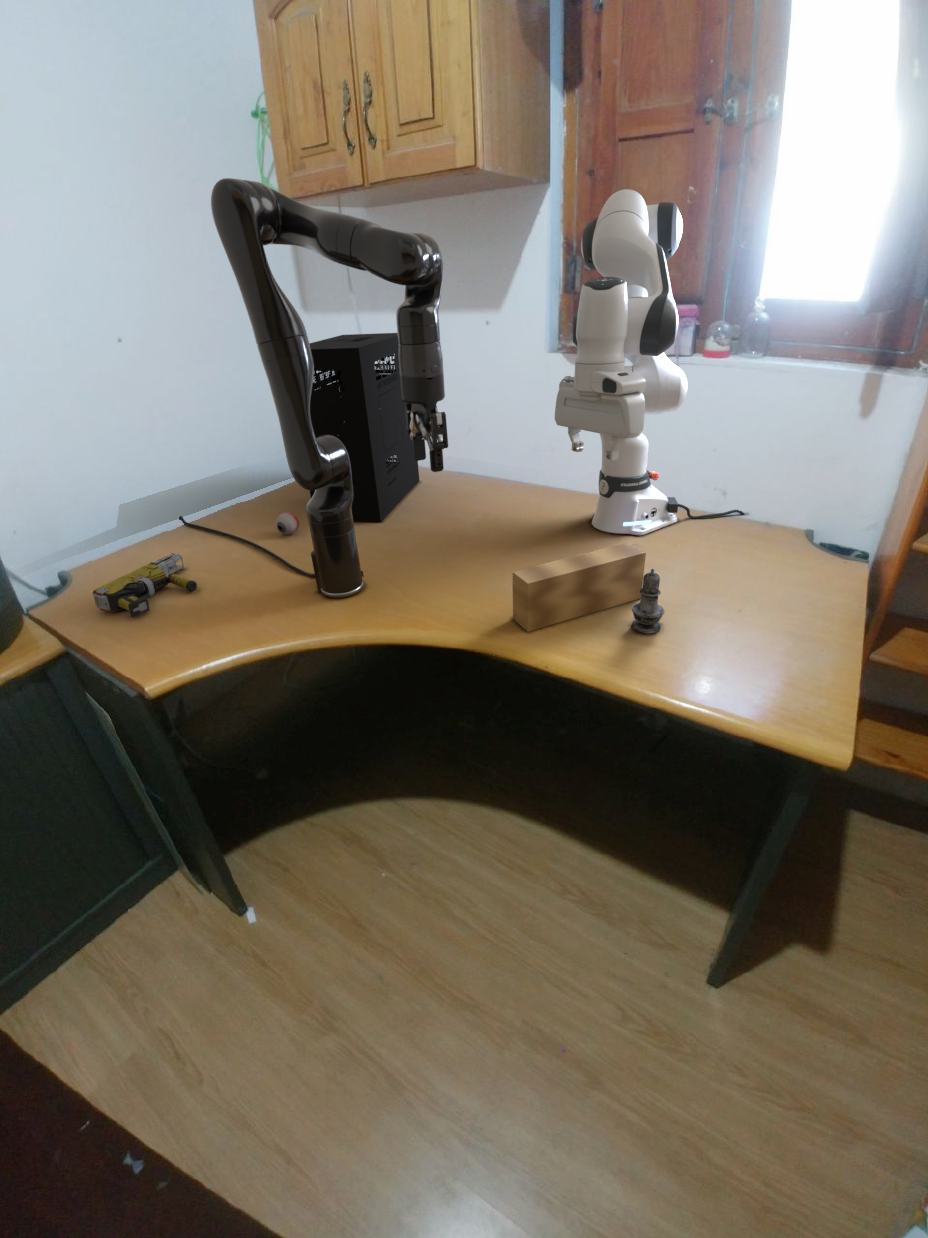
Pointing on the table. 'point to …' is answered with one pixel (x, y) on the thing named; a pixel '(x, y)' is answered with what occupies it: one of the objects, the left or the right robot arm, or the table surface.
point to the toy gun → (141, 586)
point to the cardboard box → (365, 418)
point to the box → (577, 585)
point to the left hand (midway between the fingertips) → (428, 465)
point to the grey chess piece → (648, 605)
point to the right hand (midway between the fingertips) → (594, 455)
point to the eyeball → (287, 523)
